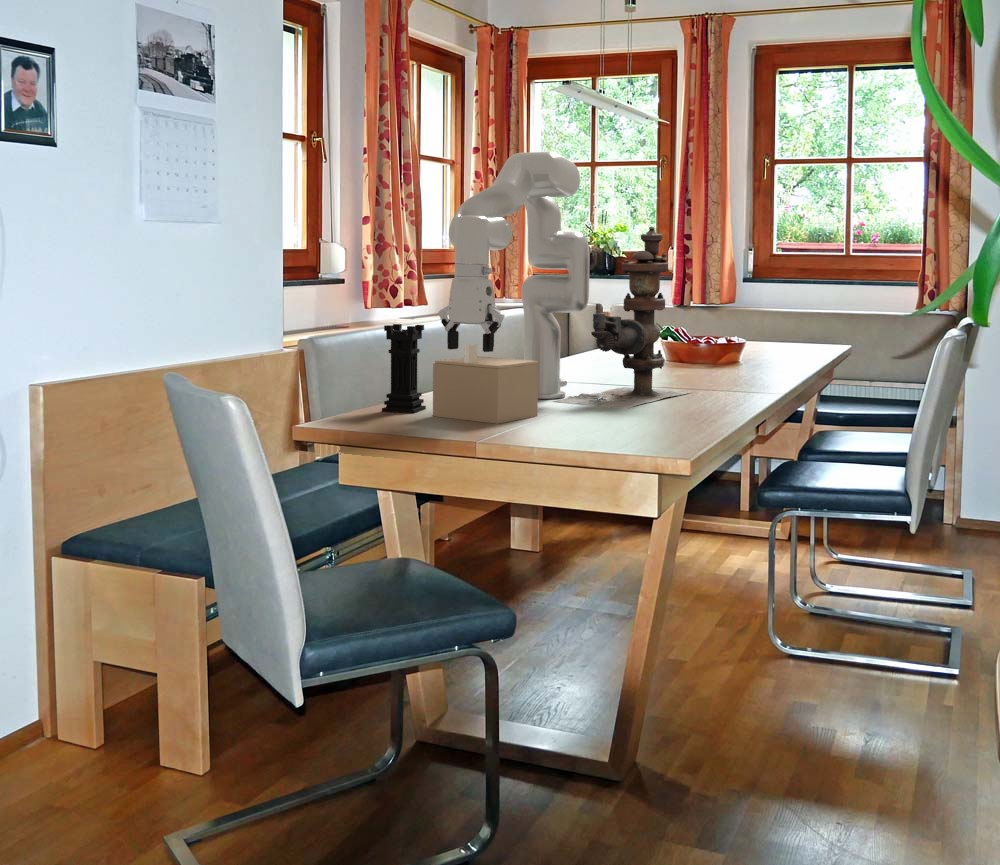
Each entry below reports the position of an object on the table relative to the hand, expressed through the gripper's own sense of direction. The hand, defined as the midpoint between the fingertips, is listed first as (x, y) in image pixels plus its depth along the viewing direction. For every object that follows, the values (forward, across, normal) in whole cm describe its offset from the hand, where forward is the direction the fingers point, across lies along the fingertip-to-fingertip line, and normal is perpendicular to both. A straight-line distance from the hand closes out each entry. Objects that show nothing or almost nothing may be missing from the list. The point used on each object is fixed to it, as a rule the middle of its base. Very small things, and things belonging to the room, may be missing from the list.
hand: (470, 350), depth 248 cm
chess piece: (+16, +20, -1) cm, 25 cm away
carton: (+15, 0, -6) cm, 17 cm away
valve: (+15, -7, -60) cm, 62 cm away
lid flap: (+3, 0, -7) cm, 7 cm away
